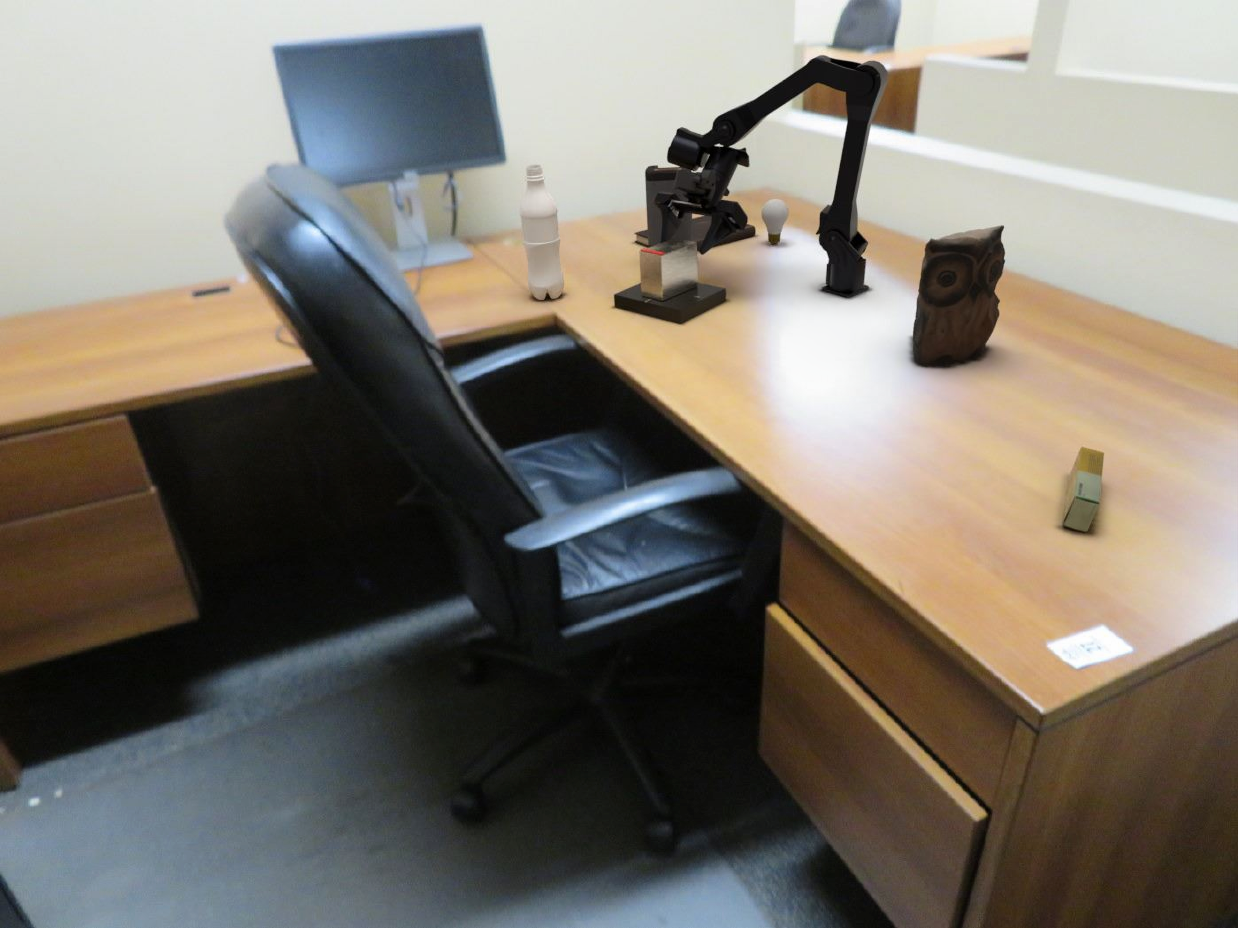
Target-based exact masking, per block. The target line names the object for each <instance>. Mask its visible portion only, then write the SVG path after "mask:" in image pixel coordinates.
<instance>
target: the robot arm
mask: <svg viewBox="0 0 1238 928" xmlns="http://www.w3.org/2000/svg"><path fill="white" fill-rule="evenodd" d="M888 82H889V73H888V70H887V68H886V67H885V65H884V64H883V63H881V62H880V61H878V60H867V61H865V62H863V63H861V62H857V61H852V60H847V59H846V60H845V59H840V58H834V57H829V56H828V55H825V54H820V55H817V56H815V57H813V58H811V59H809V61H808V62H807V63H806V64H805V65H803V66H802V67H800V68H799V69H798V70H796V71H795V72H793V73H792V74H790V75H789V76H787V77H785V78H784V79H782V80H781V81H780V82H778V83H777V84H775V85H774V86H772V87H771V88H769V89H767V90H766V91H765V92H763V93H762V94H760V95H759V96H758V97H756V98H754V99H752V100H750V101H747V102H745V103H743V104H740V105H738V106H736V107H734V108H731V109H729V110H727V111H724V113H721V114H720V115H718V116H717V117H715V119H714V120H713V121H712V126H711V129H710V130H709V131H708V132H706V133H704V134H701V133H699V132H698V133H697V132H695V131H691V130H690V129H689V128H686V127H683V126H681V127H679V128H677V129H676V132H675V135H674V137H673V138H672V140H671V142H670V145H669V146H668V149H667V153H666V161H667V163H668V164H672V165H674V166H676V167H679V166H680V167H683V168H686V169H689V170H691V172H688V171H679V170H678V171H677V174H676V179H675V183H674V187H673V188H674V189H680V190H682V191H684V192H683V196H684V197H685V198H688V202H683V201H681V200H680V198H679V197H678V196H677V195H676V193H670V192H663V191H661V192H658V193H657V195H656V197H655V199H654V201H653V203H654V204H655V206H656V207H657V209H658V210H659V211H660V212H661V214H662V231H661V242H660V243H663V242H665V241H668V240H671V238H672V237H673V235H674V234H675V232H676V231H677V229H678V228H679V226H680V225H681V223H682V222H681V221H680V219H681V218H683V217H684V215H685V213H691V214H692V215H698V216H710V217H712V219H711V225H710V228H709V230H708V232H707V234H706V236H705V238H704V241H703V243H702V245H701V248H700V250H698V252H699V254H700V255H701V256H704V255H705V254H706V253H708V252H709V251H710V250H711V249H713V248H714V247H716V246H715V245H716V244H718V243H719V242H720V241H721V240H723V239H724V238H726V237H727V236H729V235H730V234H732V233H736V232H737V230H742V231H743V230H744V229H745V227H746V224H748V221H749V216H748V214H747V213H746V211H745V210H744V208H742V205H741V204H740V202H738V201H735V200H728V199H727V200H726V199H723V198H724V197H729V195H730V193H731V191H730V189H729V188H728V187H729V185H730V183H731V181H732V179H733V176H734V175H735V172H736V170H737V168H738V166H742V167H745V168H750V165H751V164H750V155H749V153H748V151H747V148H746V147H742V148H735V147H733V146H734V145H736V144H737V143H739V142H740V141H742V140H743V139H745V138H746V137H747V136H749V135H750V133H752V132H753V131H754V130H755V129H756V128H757V127H758V126H759V125H760V124H761V123H762V122H763V121H764V120H766V118H767V117H768V116H769V115H770V114H772V113H774V112H775V111H777V110H778V109H780V108H781V107H783V106H785V105H786V104H788V103H789V102H791V101H792V100H793V99H795V98H796V97H799V96H800V95H801V94H803V93H805V92H806V91H808V90H809V89H811V88H812V87H814V86H815V85H817V84H820V85H824V86H826V87H828V88H831V89H833V90H836V91H840V92H843V93H845V107H846V117H847V118H846V119H847V122H846V128H845V132H844V137H843V138H844V139H843V144H842V149H841V154H840V161H839V165H838V171H837V178H836V181H835V188H834V194H833V199H832V203H831V204H827V205H826V206H825V207H824V208H823V209H822V210H821V211H820V212H819V219H818V220H819V221H818V222H819V224H818V225H819V226H818V229H817V230H816V232H815V235H817V236H818V244H819V246H820V247H821V248H822V250H823V251H824V252H826V255H827V258H828V262H827V263H826V267H825V268H826V269H825V270H826V272H825V285H824V286H822V287H821V291H824V292H827V293H831V294H835V295H838V296H841V297H846V298H851V297H853V296H854V295H857V294H860V293H862V292H865V291H866V290H869V285H866V284H865V278H866V277H865V275H866V266H867V258H864V257H863V254H864V253H865V251H866V250H867V248H868V245H869V241H868V240H867V239H866V238H865V237H864V236H863V234H861V232H860V231H859V230H858V229H859V228H858V226H859V225H858V224H859V223H858V222H859V213H858V203H857V198H858V194H859V193H858V192H859V189H860V183H861V178H862V173H863V168H864V162H865V158H866V153H867V149H868V143H869V136H870V131H871V127H872V123H873V122H872V121H873V119H874V117H875V115H876V112H877V110H878V108H879V105H880V103H881V101H882V98H883V95H884V92H885V90H886V87H887V84H888ZM699 168H700V169H702V170H701V171H698V170H699Z"/></svg>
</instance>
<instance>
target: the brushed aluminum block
mask: <svg viewBox="0 0 1238 928" xmlns="http://www.w3.org/2000/svg"><path fill="white" fill-rule="evenodd" d="M638 252H639V253H638V254H639V272H640V274H639V275H640V283H641V295H642V296H645V297H649V298H653V299H656V300H660V301H664V300H667V299H669V298H671V297H674V296H676V295H678V294H681V293H683V292H685V291H688V290H690V289H692V288H695V287H697V286H698V279H699V278H698V277H699V275H698V251H697V242H693V241H688V240H683V239H678V238H674V239H671V240H668V241H665V242H663V243H660V244H657V245H655V246H652V247H649V248H648V247H647V248H645V247H643V248H641V249H640V250H639V251H638Z"/></svg>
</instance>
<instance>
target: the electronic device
mask: <svg viewBox="0 0 1238 928" xmlns="http://www.w3.org/2000/svg"><path fill="white" fill-rule="evenodd" d="M678 170H679V171H688V172H692V170H689V169H686V168H683V167H680V166H671V167H659V165H658V164H657V165H655V164H653V165H649V166H647V167H646V168H645V170H644V178H645V179H644V181H645V182H644V183H645V204H646V224H647V227H646V230H647V229H648V247H647V248H649V247H652V246H655V245H657V244H660V242H661V231H662V214H661V212H660V211H659V210H658V209H657V207H656V206H655V204H654V203H653V201H654V199H655V197H656V195H657V193H658V192H661V191H663V192H670V193H676V195H677V196H678V197H679V198H680V200H681V201H683V202H688V198H685V197H684V196H683V192H684V191H682V190H680V189H674V188H673V187H674V183H675V179H676V174H677V171H678ZM692 219H693V214H691V213H685V215H684V217H683V218H681V219H680V221H681V222H682V223H681V225H680V226H679V228H678V229H677V231H676V232H675V234H674V235H673V237H672V238H671V239H674V238H678V239H683V240H688V241H693V237H692Z"/></svg>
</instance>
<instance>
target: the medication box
mask: <svg viewBox="0 0 1238 928" xmlns="http://www.w3.org/2000/svg"><path fill="white" fill-rule="evenodd" d="M1104 458H1105V452H1104V451H1100V450H1097V449H1093V448H1090V447H1085V446H1081V447H1080V448H1079V451H1078V454H1077V456H1076V457H1075V460H1074V463H1073V465H1072V468H1071V470H1070V473H1069V479H1068V485H1067V491H1066V497H1065V503H1064V509H1063V517H1062V525H1061V526H1062V527H1065V528H1068V529H1070V530H1073V531H1076V532H1081V533H1088V530H1089V528H1090V526H1091V525H1092V522H1093V520H1094V518H1095V515H1096V513H1097V511H1098V510H1099V507H1100V501H1101V494H1102V493H1101V492H1102V484H1103V483H1102V481H1103V472H1104V471H1103V470H1104Z"/></svg>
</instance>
